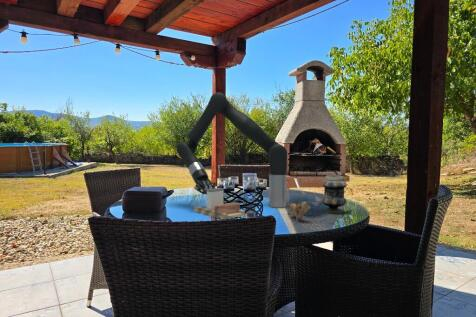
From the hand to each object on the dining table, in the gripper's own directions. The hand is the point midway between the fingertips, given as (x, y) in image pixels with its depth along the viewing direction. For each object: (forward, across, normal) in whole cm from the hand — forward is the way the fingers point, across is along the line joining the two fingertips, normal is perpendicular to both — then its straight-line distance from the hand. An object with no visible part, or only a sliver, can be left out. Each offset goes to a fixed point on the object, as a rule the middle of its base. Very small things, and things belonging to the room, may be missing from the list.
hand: (212, 199), depth 167 cm
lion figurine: (+31, +20, -22) cm, 42 cm away
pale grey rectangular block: (+5, 0, +2) cm, 5 cm away
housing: (+8, 0, +1) cm, 8 cm away
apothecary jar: (+32, +46, -23) cm, 61 cm away
